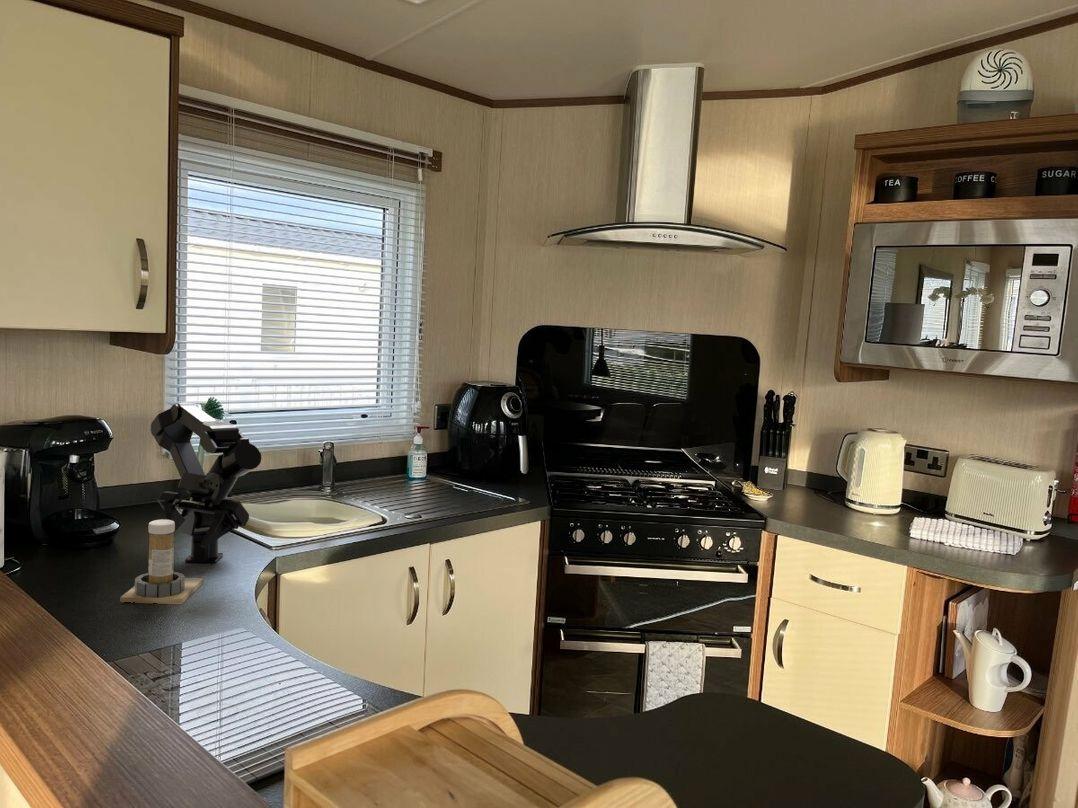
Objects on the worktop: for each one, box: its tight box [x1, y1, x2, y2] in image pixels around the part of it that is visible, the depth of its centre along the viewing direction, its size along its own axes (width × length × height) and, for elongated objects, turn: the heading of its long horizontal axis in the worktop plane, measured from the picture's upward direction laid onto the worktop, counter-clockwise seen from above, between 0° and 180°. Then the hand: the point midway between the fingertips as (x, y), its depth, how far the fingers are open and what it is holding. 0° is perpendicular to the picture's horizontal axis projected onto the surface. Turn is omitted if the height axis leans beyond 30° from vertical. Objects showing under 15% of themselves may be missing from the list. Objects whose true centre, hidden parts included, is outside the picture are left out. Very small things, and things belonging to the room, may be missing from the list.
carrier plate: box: [119, 577, 204, 605], centre depth 165 cm, size 13×11×2 cm
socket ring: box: [134, 571, 186, 598], centre depth 163 cm, size 8×8×2 cm
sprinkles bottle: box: [147, 519, 175, 583], centre depth 162 cm, size 5×5×13 cm
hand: (182, 543), depth 168 cm, fingers open, 9 cm apart
